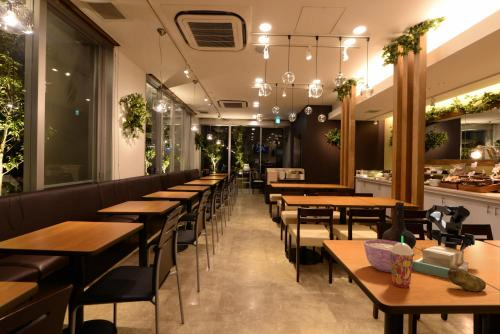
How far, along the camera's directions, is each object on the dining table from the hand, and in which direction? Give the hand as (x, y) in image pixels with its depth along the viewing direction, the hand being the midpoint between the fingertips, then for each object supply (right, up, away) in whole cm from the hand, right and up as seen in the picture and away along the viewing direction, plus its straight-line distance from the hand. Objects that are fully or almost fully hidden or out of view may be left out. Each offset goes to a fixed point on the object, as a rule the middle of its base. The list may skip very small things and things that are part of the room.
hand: (449, 250), depth 156 cm
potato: (-15, -7, -34) cm, 38 cm away
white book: (-11, -6, -10) cm, 17 cm away
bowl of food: (-38, -6, -12) cm, 40 cm away
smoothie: (-40, -6, -31) cm, 51 cm away
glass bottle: (-15, -6, +22) cm, 27 cm away
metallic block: (-8, -7, -7) cm, 12 cm away
